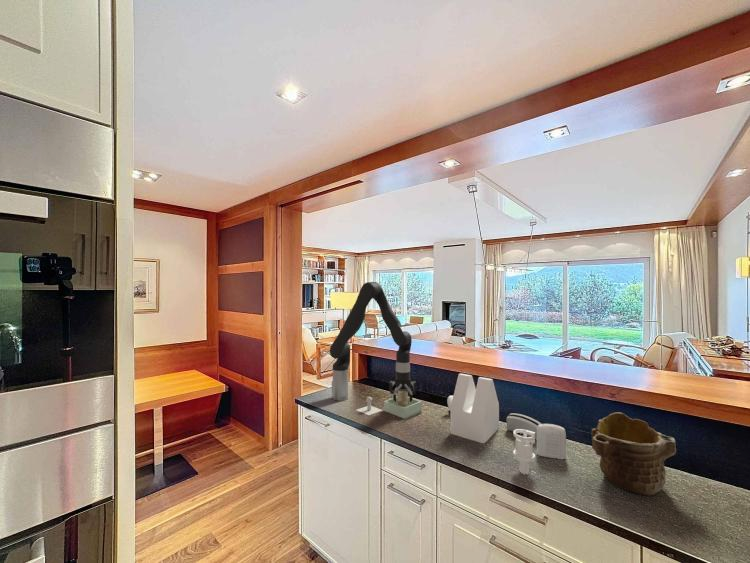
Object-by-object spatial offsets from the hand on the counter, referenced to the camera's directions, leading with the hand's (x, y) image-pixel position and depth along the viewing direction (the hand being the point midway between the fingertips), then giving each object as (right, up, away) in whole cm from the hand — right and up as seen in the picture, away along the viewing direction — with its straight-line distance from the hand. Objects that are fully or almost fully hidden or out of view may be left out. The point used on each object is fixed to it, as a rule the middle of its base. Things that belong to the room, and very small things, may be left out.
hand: (402, 401), depth 172 cm
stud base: (-18, -6, +1) cm, 19 cm away
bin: (0, -6, 0) cm, 6 cm away
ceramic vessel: (+71, -6, -61) cm, 94 cm away
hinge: (+53, -6, -25) cm, 59 cm away
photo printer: (+55, -6, -43) cm, 70 cm away
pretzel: (+28, -6, 0) cm, 29 cm away
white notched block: (+32, -6, -21) cm, 38 cm away
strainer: (+39, -6, -54) cm, 67 cm away
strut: (0, -5, 0) cm, 5 cm away
